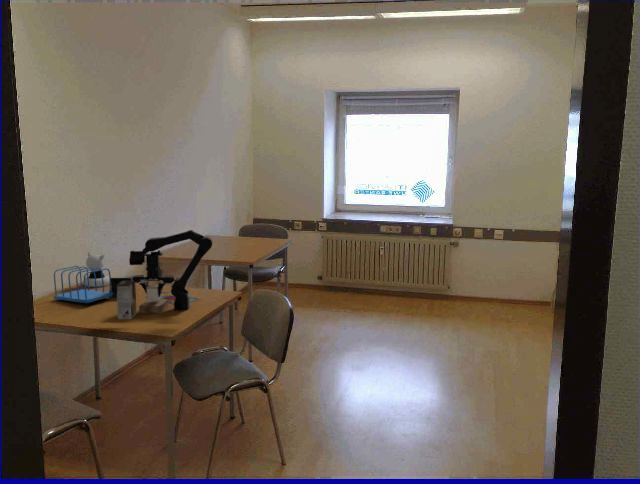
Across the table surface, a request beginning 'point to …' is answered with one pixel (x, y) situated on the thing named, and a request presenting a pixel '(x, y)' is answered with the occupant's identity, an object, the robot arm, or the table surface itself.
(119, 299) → the coffee box
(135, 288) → the digital clock
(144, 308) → the walnut block
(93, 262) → the decorative figurine
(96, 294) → the file sorter
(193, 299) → the relief map
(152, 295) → the cream capped cube
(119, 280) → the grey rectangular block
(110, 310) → the table surface
